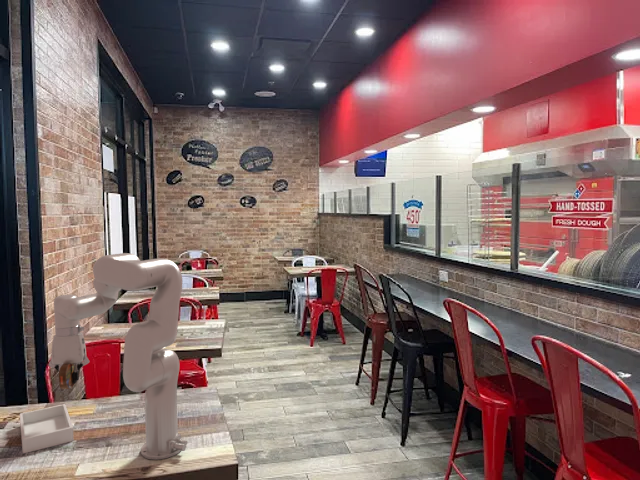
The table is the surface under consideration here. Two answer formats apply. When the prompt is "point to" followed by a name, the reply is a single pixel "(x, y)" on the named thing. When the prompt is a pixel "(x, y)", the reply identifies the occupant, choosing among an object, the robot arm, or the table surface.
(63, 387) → the tin
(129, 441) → the table surface
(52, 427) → the tote
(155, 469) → the table surface
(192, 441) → the table surface
